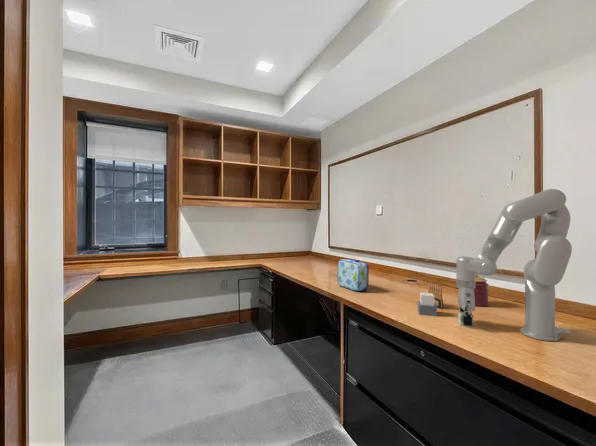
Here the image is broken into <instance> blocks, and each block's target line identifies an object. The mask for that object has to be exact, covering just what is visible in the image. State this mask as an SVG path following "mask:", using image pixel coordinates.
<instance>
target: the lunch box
mask: <svg viewBox="0 0 596 446" xmlns="http://www.w3.org/2000/svg"><path fill="white" fill-rule="evenodd" d="M369 269H370V268H369V264H368V263H367V262H364V261H361V260H360V259H359V260H357V259H352V258H344V259H343V258H342V259H339V260H338V263H337V275H336V277H337V278H336V279H337V284H338V286H339V287H341V288H345V289H348V290H352V291H353V292H361V291H362V292H363V291H367V290H368V288H369V284H370V283H369V282H370V281H369V278H370V277H369V276H370V275H369V272H370V271H369Z"/></svg>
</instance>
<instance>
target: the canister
mask: <svg viewBox="0 0 596 446" xmlns="http://www.w3.org/2000/svg"><path fill="white" fill-rule="evenodd" d="M487 281H488V280H487V278H484V277H482V276H479V274H476V273H475V288H474V295H475V307H487V306H489V289H488V287H489V283H487Z"/></svg>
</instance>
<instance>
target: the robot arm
mask: <svg viewBox="0 0 596 446" xmlns="http://www.w3.org/2000/svg"><path fill="white" fill-rule="evenodd" d="M566 202H567V196H566V194H565V193H564V192H563V191H561V190H559V189H558V188H557V189H556V188H549V189H545V190H542V191H540V192H538V193H535V194H533V195H531V196H527V197H524V198H522V199H519V200H516V201H513V202H510V203H508V204H506V205H505V206H504V207H503V209H502V210H501V212H500V214H499V216H498V218H497V220H496V221H495V224H494V226H493V227H492V229H491V231H490V233H489V234H488V237H487V239H486V241H485V242H484V244H483V246H482V247H481V250H480V251H479V253H478V255H477V256H476V258H474V257H472V256H457V258H456V281H455V282H456V287H457V288H458V290H457V291H458V297H457V298H458V300H457V301H458V306H459V312H464V323H463V324H464V325H467V326H466V327H470V326H472V315H473V314H472V313H473V312H474V311H476V306H475V295H474V288H475V273H476V274H477V275H483V276H491V275H493V274H495V273H496V272H497V268H498V267H497V264H496V262H497V261H498V259H499V257H500V255H501V254H502V252H503V251H504V250H505V249H506V248H507V247H508V246H509V245H510V244H511V243H512V242H513V241H514V239H515V237H516V235H517V233H518V231H519V229H520V228H521V226H522V224H523V223H524V222H525V221H528V220H532V219H536V218H538V217H541V219H542V220H541V223H540V228H539V230H538V233H537V236H536V239H535V241H534V244H533V245H534V246H533V247H534V251H535V252H536V253H537V254H536V256H535V259H532V260H529V261H528V262H527V263H526V264H525V265H524V267H523V268H524V269H523V277H524V327H521V328H520V330H519V331H520V333H521V334H522V335H524V336H526V337H529V338H532V339H535V340H539V341H544V342H545V341H546V342H558V341H560V340H561V335H566V336H570V335H571V331H570V329H563V328H562V327H557V326H556V288H555V286H556V285H558V284H560V282H561V281H562V280H563V277H564V275H565V272H566V270H567V267H568V264H569V262H570V259H571V256H572V252H573V251H572V250H573V249H572V248H573V247H572V244H571V242H570V241H569V239H567V237H568V232H569V228H570V225H571V213H570V210H569V209H568V207H567V206H566Z"/></svg>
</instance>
